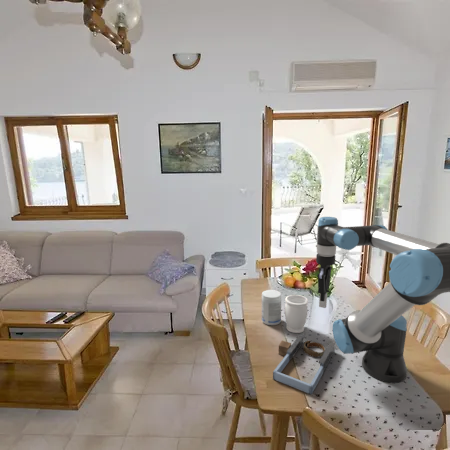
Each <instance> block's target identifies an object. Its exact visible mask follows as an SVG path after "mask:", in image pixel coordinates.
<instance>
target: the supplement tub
mask: <svg viewBox="0 0 450 450" xmlns="http://www.w3.org/2000/svg"><path fill="white" fill-rule="evenodd" d="M261 321H262V323H263V324H265V325H267V326H277V325H280V323H281V321H282V292H280V291H278V290H275V289H267V290H263V291H262V292H261Z"/></svg>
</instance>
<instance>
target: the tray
mask: <svg viewBox="0 0 450 450" xmlns="http://www.w3.org/2000/svg"><path fill="white" fill-rule="evenodd" d="M288 363H290V361H289V354H286V356H284V357H283V359H281V360H280V362H279V363H278V364H277V366H276V367H275V369H273V372H272V380H275V381H277V382H279V383H282V384H284V385H287V386H289V387H292V388H294V389H297V390H300V391H301V392H304V393H306V394H310V395H313V393H314V391H315V389H316V387H317V386H318V384H319V382H320V380H321V378H322V376H323V375H324V372H323V366H320V365H319V368H318V369H317V371H316V373H315V375H314V376H313V378H312V380H311V382H310V383H309V382H306V381H304V380H300V379H298V378H295V377H293V376H291V375H287V374H284V373H282V372H283V370H284V369H285V368H286V366H287V365H288Z"/></svg>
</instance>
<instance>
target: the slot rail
mask: <svg viewBox="0 0 450 450" xmlns="http://www.w3.org/2000/svg"><path fill="white" fill-rule="evenodd" d="M305 336H306V333H303V332H301V333H299V335H298V336H297V338H296V339H295V340H294V341H293V343H291V347H290V348H289V349H288V350H287V354H289V362H290V361H291V360H292V359H293V357H294V356H295V354H297V352H298V350H299V349H300V347H301V346H302V345H303V344H304V338H305ZM335 344H336V342H333V341H330V342H329V344H328V345H327V347H326V348H325V352H324V354H323V355H322V356H321V357H320V359H319V360H318V365H319V367H320V366H323V373H324V371H325V370H326V368H327V367H328V365H329V362H331V359H332V357H333V355H334V353H335V349H336V347H335V346H336V345H335Z"/></svg>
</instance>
